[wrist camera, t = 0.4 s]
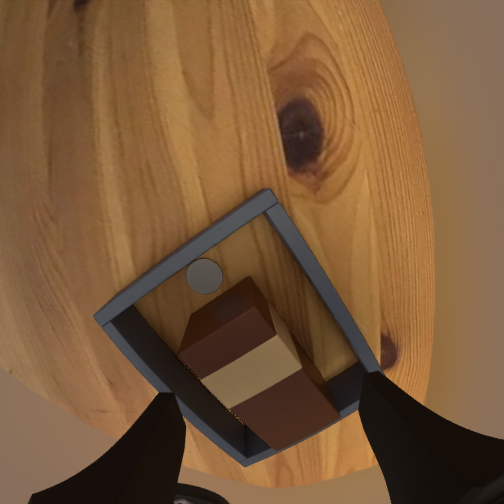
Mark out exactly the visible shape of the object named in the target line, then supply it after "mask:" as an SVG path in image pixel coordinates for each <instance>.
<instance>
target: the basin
mask: <svg viewBox="0 0 504 504" xmlns="http://www.w3.org/2000/svg"><path fill="white" fill-rule="evenodd" d="M261 213H264V215H265V216H266V218H267V219H268V221H269V222H270V224H271V225H272V227H273V228H274V230H275V231H276V233H277V234H278V236H279V237H280V239H281V240H282V242H283V243H284V245H285V246H286V248H287V249H288V251H289V252H290V254H291V255H292V257H293V258H294V260H295V261H296V263H297V264H298V266H299V267H300V269H301V270H302V272H303V273H304V275H305V277H306V278H307V280H308V281H309V283H310V284H311V286H312V287H313V289H314V290H315V292H316V293H317V295H318V297H319V298H320V300H321V301H322V303H323V304H324V306H325V307H326V309H327V311H328V312H329V314H330V315H331V317H332V318H333V320H334V322H335V323H336V325H337V326H338V328H339V330H340V331H341V333H342V334H343V336H344V337H345V339H346V341H347V342H348V344H349V345H350V347H351V349H352V350H353V352H354V354H355V355H356V357H357V358H358V360H359V362H358V363H356V364H355V365H353V366H352V367H350V368H349V369H347V370H346V371H344V372H343V373H341V374H340V375H338V376H337V377H335V378H334V379H332V380H330V381H329V382H327V383H326V385H327V388H328V390H329V392H330V394H331V396H332V398H333V401H334V403H335V405H336V407H337V409H338V411H339V414H340V416H341V418H340V419H338V420H337V421H335V422H333V423H331V424H330V425H328V426H326V427H324V428H323V429H321V430H319V431H317V432H315V433H313V434H312V435H310V436H308V437H306V438H304V439H302V440H300V441H298V442H296V443H294V444H292V445H290V446H288V447H286V448H284V449H282V450H279V451H275V450H274V449H273V448H272V447H270V446H269V445H268V444H267V443H266V442H265V441H264V440H262V439H261V438H260V437H259V436H258V435H257V434H256V433H255V432H254V431H252V430H251V429H250V428H249V427H248V426H247V427H244V426H243V425H242V424H241V423H240V422H239V421H238V420H237V419H236V418H235V417H234V416H233V415H232V414H231V413H230V412H228V411H227V410H226V409H225V408H224V407H223V406H222V405H221V404H220V403H219V402H218V401H217V400H216V399H215V398H214V397H213V396H212V395H211V394H210V393H209V392H208V391H207V390H206V388H205V387H204V386H203V385H202V384H201V383H200V382H199V381H198V380H197V379H196V378H195V377H194V376H193V375H192V374H191V373H190V372H189V370H188V369H187V368H186V367H185V366H184V365H183V364H182V363H181V362H180V361H179V359H178V358H177V357H176V356H175V355H174V354H173V353H172V352H171V350H170V349H169V348H168V347H167V346H166V345H165V343H164V342H163V341H162V340H161V339H160V338H159V336H158V335H157V334H156V333H155V332H154V330H153V329H152V328H151V327H150V326H149V324H148V323H147V322H146V321H145V319H144V318H143V317H142V316H141V314H140V313H139V312H138V311H137V309H136V308H135V307H134V305H133V304H134V303H135V302H137V301H138V300H139V299H141V298H142V297H143V296H145V295H146V294H148V293H149V292H150V291H152V290H153V289H154V288H156V287H157V286H159V285H160V284H161V283H163V282H164V281H166V280H167V279H168V278H170V277H171V276H173V275H174V274H175V273H177V272H178V271H180V270H181V269H182V268H184V267H185V266H187V265H188V264H189V263H191V262H192V261H194V260H195V259H196V258H198V257H199V256H201V255H202V254H204V253H205V252H206V251H208V250H209V249H211V248H212V247H214V246H215V245H216V244H218V243H219V242H221V241H222V240H224V239H225V238H227V237H228V236H229V235H231V234H232V233H234V232H235V231H237V230H238V229H240V228H241V227H242V226H244V225H245V224H247V223H248V222H250V221H251V220H253V219H254V218H256V217H257V216H259V215H260V214H261ZM222 279H223V274H222V270H221V268H220V266H219V265H218V264H217V263H216V262H215V261H213V260H211V259H207V258H201V259H197V260H195V261H194V262H192V263H191V264H190V266H189V267H188V269H187V272H186V280H187V283H188V285H189V286H190V288H191V289H192V290H194V291H195V292H197V293H199V294H210V293H213V292H215V291H216V290H217V289H218V288H219V287H220V285H221V283H222ZM93 317H94V319H95V320H96V321H97V322H98V324H99V325H100V326H101V327H102V329H103V330H104V331H105V333H106V334H107V335H108V336H109V338H110V339H111V340H112V341H113V342H114V344H115V345H116V346H117V347H118V348H119V349H120V351H121V352H122V353H123V354H124V355H125V356H126V358H127V359H128V360H129V361H130V362H131V363H132V364H133V365H134V366H135V368H136V369H137V370H138V371H139V372H140V373H141V374H142V375H143V376H144V377H145V378H146V379H147V381H148V382H149V383H150V384H151V385H152V386H153V387H154V388H155V389H156V390H157V391H158V392H174V393H175V396H176V399H177V402H178V405H179V408H180V411H181V413H182V415H183V416H184V417H185V418H186V419H187V420H188V421H189V422H190V423H192V424H193V425H194V426H195V427H196V428H197V429H198V430H199V431H201V432H202V433H203V434H204V435H205V436H206V437H208V438H209V439H210V440H211V441H212V442H213V443H215V444H216V445H217V446H218V447H220V448H221V449H222V450H223V451H224V452H226V453H227V454H228V455H229V456H231V457H232V458H233V459H235V460H236V461H237V462H239V463H240V464H241V465H242V466H244V467H247V466H249V465H252V464H254V463H256V462H259V461H261V460H263V459H266V458H268V457H270V456H272V455H275V454H277V453H279V452H281V451H283V450H285V449H287V448H290V447H292V446H294V445H296V444H298V443H300V442H302V441H304V440H306V439H307V438H309V437H311V436H313V435H315V434H317V433H319V432H321V431H322V430H324V429H326V428H328V427H330V426H331V425H333V424H335V423H337V422H338V421H340V420H342V419H343V418H345V417H347V416H348V415H350V414H352V413H353V412H355V411H356V410H358V407H359V401H360V395H361V389H362V383H363V377H364V373H369V372H374V371H380V372H381V373H382V374H383V375H385V374H384V372H383V371H382V369H381V367H380V365H379V363H378V362H377V360H376V358H375V356H374V354H373V353H372V351H371V349H370V347H369V346H368V344H367V342H366V340H365V339H364V337H363V335H362V333H361V332H360V330H359V328H358V327H357V325H356V323H355V321H354V320H353V318H352V316H351V315H350V313H349V311H348V310H347V308H346V306H345V305H344V303H343V301H342V300H341V298H340V296H339V295H338V293H337V291H336V290H335V288H334V286H333V285H332V283H331V282H330V280H329V278H328V277H327V275H326V273H325V272H324V270H323V269H322V267H321V265H320V264H319V262H318V261H317V259H316V257H315V256H314V254H313V253H312V251H311V250H310V248H309V246H308V245H307V243H306V242H305V240H304V239H303V237H302V235H301V234H300V232H299V231H298V229H297V228H296V226H295V225H294V223H293V222H292V220H291V219H290V217H289V216H288V214H287V213H286V211H285V209H284V208H283V206H282V205H281V203H280V202H278V199H277V198H276V196H275V195H274V193H273V192H272V190H271V189H270V188H267V189H262V190H260V191H259V192H257V193H256V194H254V195H253V196H251V197H250V198H248V199H247V200H245V201H244V202H242V203H241V204H239V205H238V206H237V207H235V208H234V209H232V210H231V211H229V212H228V213H226V214H225V215H224V216H222V217H221V218H219V219H218V220H216V221H215V222H214V223H212V224H211V225H209V226H208V227H207V228H205V229H204V230H202V231H201V232H199V233H198V234H197V235H195V236H194V237H192V238H191V239H190V240H188V241H187V242H186V243H184V244H183V245H181V246H180V247H179V248H177V249H176V250H175V251H173V252H172V253H170V254H169V255H168V256H166V257H165V258H164V259H162V260H161V261H160V262H158V263H157V264H156V265H154V266H153V267H152V268H150V269H149V270H148V271H146V272H145V273H144V274H142V275H141V276H140V277H138V278H137V279H136V280H134V281H133V282H132V283H130V284H129V285H128V286H126V287H125V288H124V289H123V290H121V291H120V292H119V293H117V294H116V295H115V296H114V297H113V298H111V299H110V300H109V301H108V302H107V303H106V304H105V305H104V306H103V307H102V308H101V309H100V310H99V311H97V312H96V313H95V314H94V316H93Z"/></svg>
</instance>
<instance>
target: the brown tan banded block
mask: <svg viewBox="0 0 504 504" xmlns="http://www.w3.org/2000/svg"><path fill="white" fill-rule="evenodd" d="M178 355H179V356H180V357H181V358H182V360H183V361H184V362H185V363H186V364H187V365H188V366H189V367H190V368H191V370H192V371H193V372H194V373H195V374H196V375H197V376H198V377H199V378H200V381H201V382H202V383H203V384H204V385H205V386H206V387H207V388H208V389H209V391H210V392H211V393H212V394H213V395H214V396H215V397H216V398H217V399H218V400H219V401H220V402H221V403H222V404H223V405H224V406H225V407H226V408H228V409H230V410H231V411H232V412H233V413H234V414H235V415H236V416H238V417H239V418H240V419H241V420H242V421H243V422H244V423H245V424H246V425H247V426H248V427H249V428H250V429H251V430H252V431H254V432H255V433H256V434H257V435H258V436H259V437H260V438H261V439H262V440H264V441H265V442H266V443H267V444H268V445H269V446H270V447H272V448H273V449H274V450H275V451H279V450H282V449H284V448H286V447H288V446H290V445H292V444H294V443H296V442H298V441H300V440H302V439H304V438H306V437H308V436H310V435H312V434H313V433H315V432H317V431H319V430H321V429H323V428H324V427H326V426H328V425H330V424H331V423H333V422H335V421H337V420H338V419H340V418H341V416H340V414H339V411H338V409H337V407H336V405H335V403H334V401H333V398H332V396H331V394H330V392H329V390H328V388H327V385H326V383H325V381H324V379H323V377H322V375H321V373H320V372H319V370H318V369H317V368H316V366H315V365H314V364H313V362H312V361H311V359H310V358H309V357H308V355H307V354H306V353H305V351H304V350H303V349H302V347H301V346H300V345H299V343H298V342H297V340H296V339H295V338H294V336H293V335H292V334H291V332H290V331H289V330H288V328H287V325H286V324H285V323H284V321H283V320H282V318H281V317H280V316H279V314H278V313H277V312H276V310H275V309H274V307H273V306H272V305H271V303H270V302H269V300H268V299H266V298H265V297H264V295H263V294H262V292H261V291H260V290H259V288H258V287H257V285H256V284H255V283H254V281H253V280H252V278H251V277H250V276H249V277H247V278H246V279H244V280H243V281H241V282H240V283H238V284H237V285H235V286H234V287H232V288H231V289H229V290H228V291H226V292H225V293H223V294H222V295H220V296H219V297H217V298H216V299H214V300H213V301H211V302H210V303H208V304H207V305H205V306H204V307H202V308H201V309H199V310H197V311H196V312H194V313H193V314H191V316H190V319H189V322H188V325H187V328H186V331H185V334H184V337H183V340H182V343H181V346H180V349H179V352H178Z"/></svg>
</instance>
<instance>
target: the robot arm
mask: <svg viewBox="0 0 504 504" xmlns="http://www.w3.org/2000/svg"><path fill="white" fill-rule="evenodd" d="M358 411H359V415H360V418H361V422H362V425H363V429H364V431H365V434H366V436H367V438H368V441H369V443H370V445H371V447H372V450H373V452H374V454H375V456H376V459H377V461H378V463H379V465H380V468H381V470H382V473H383V475H384V478H385V481H386V485H387V488H388V492H389V496H390V500H391V503H392V504H504V440H502V439H498V438H494V437H490V436H486V435H483V434H480V433H477V432H474V431H471V430H469V429H466V428H464V427H461V426H459V425H457V424H455V423H453V422H451V421H449V420H446V419H445V418H443V417H441V416H439V415H438V414H436V413H434V412H433V411H431V410H430V409H428V408H426V407H425V406H423V405H422V404H421V403H419V402H418V401H416V400H415V399H414V398H412V397H411V396H410V395H408V394H407V393H406V392H404V391H403V390H402V389H401V388H399V387H398V386H397V385H396V384H394V383H393V382H392V381H391V380H389V379H388V378H387V377H386V376H385V375H383V374H382V373H381V372H380V371H374V372H369V373H364V377H363V383H362V389H361V395H360V401H359V407H358ZM185 437H186V425H185V422H184V419H183V416H182V413H181V411H180V408H179V405H178V402H177V399H176V396H175V393H174V392H159V393H158V394H157V396H156V397H155V398H154V399H153V401H152V402H151V403H150V404H149V406H148V407H147V408H146V410H145V411H144V412H143V413H142V414H141V416H140V417H139V418H138V419H137V420H136V422H135V423H134V424H133V425H132V426H131V428H130V429H129V430H128V431H127V432H126V433H125V434H124V435H123V436H122V437H121V438H120V439H119V440H118V441H117V442H116V443H115V444H114V445H113V446H112V447H111V448H110V449H109V450H108V451H107V452H106V453H105V454H103V455H102V456H101V457H100V458H99V459H97V460H96V461H95V462H93V463H92V464H91V465H89V466H88V467H86V468H85V469H83V470H82V471H80V472H79V473H77V474H76V475H74V476H72V477H71V478H69V479H67V480H65V481H63V482H61V483H59V484H57V485H55V486H53V487H50V488H48V489H45V490H43V491H40V492H38V493H34V494H32V496H31V498H30V500H29V502H28V504H193V503H191V502H190V501H188V500H186V499H183V498H181V499H177V500H174V498H175V491H176V487H177V482H178V476H179V473H180V468H181V463H182V458H183V454H184V449H185Z"/></svg>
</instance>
